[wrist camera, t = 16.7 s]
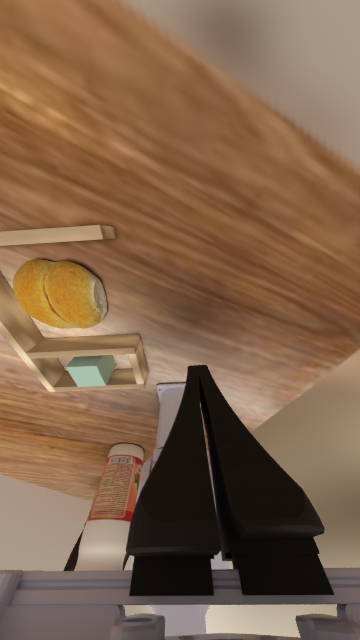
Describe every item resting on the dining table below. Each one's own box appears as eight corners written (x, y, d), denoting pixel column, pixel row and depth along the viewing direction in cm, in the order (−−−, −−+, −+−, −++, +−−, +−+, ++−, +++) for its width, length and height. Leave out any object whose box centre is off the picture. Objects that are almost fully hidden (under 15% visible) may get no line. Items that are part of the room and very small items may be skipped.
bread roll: (17, 257, 16) (-27, 262, 13) (100, 260, 16) (78, 267, 13) (48, 321, 20) (20, 339, 17) (113, 324, 20) (100, 341, 17)
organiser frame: (148, 372, 25) (145, 387, 22) (62, 375, 25) (49, 391, 23) (113, 226, 14) (99, 225, 12) (-33, 236, 15) (-78, 237, 12)
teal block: (116, 364, 24) (105, 385, 21) (92, 365, 24) (78, 386, 21) (109, 345, 22) (96, 365, 19) (83, 346, 22) (65, 367, 19)
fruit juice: (124, 438, 37) (23, 811, 13) (151, 449, 41) (111, 760, 17) (103, 449, 41) (-8, 765, 16) (130, 459, 44) (72, 731, 20)
